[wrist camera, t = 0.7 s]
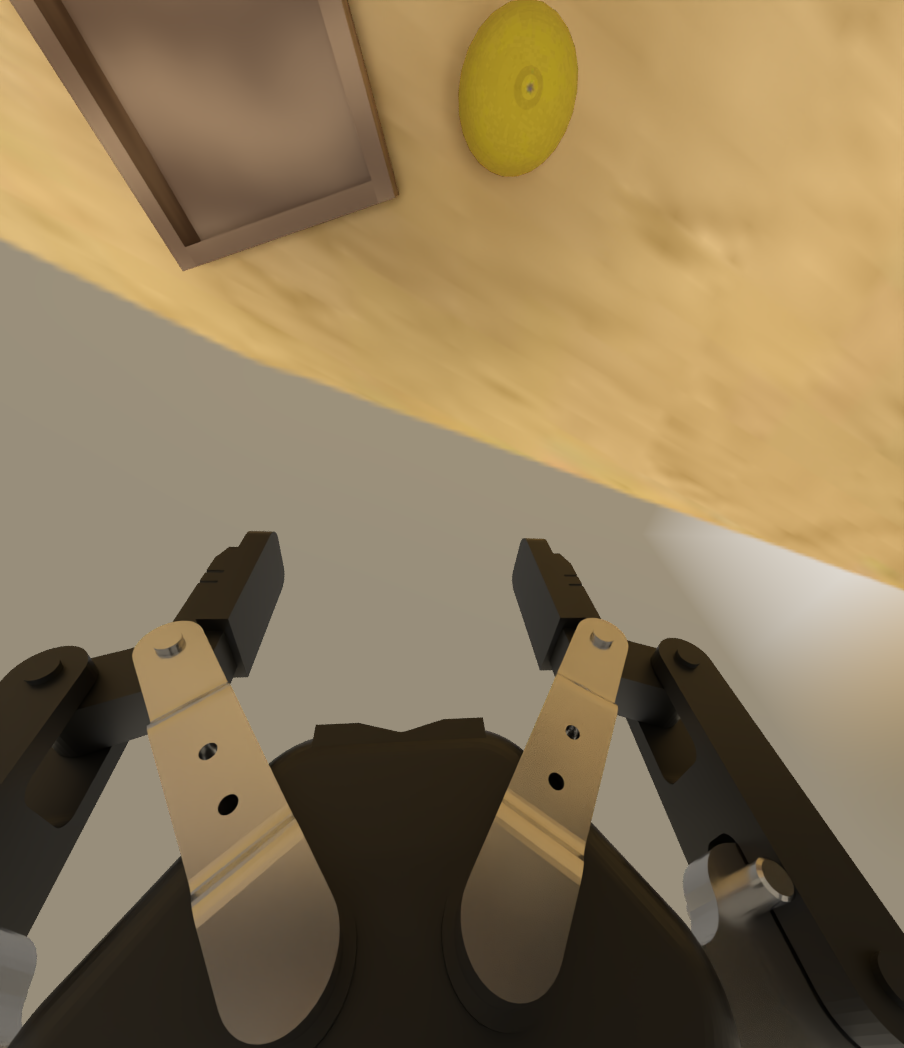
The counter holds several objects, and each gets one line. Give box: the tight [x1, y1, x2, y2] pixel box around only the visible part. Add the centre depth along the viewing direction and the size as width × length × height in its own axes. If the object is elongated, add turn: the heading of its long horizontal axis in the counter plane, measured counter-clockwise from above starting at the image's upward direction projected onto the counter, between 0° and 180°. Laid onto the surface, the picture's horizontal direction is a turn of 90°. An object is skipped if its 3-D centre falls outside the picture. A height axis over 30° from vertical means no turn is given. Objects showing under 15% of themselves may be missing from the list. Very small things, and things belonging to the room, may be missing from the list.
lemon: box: [458, 0, 578, 176], centre depth 18 cm, size 6×6×8 cm
